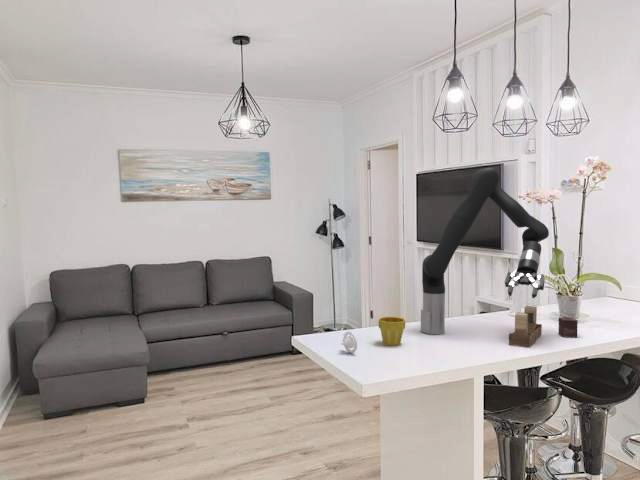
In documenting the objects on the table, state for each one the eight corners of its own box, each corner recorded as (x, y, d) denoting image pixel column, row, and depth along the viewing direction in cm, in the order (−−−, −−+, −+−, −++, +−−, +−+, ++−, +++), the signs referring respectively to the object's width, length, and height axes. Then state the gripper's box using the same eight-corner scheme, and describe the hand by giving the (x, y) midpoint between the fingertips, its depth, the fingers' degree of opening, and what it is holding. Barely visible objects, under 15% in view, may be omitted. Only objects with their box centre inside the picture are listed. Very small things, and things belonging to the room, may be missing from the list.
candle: (525, 314, 257) (526, 265, 255) (522, 317, 251) (523, 266, 249) (510, 313, 261) (511, 264, 259) (507, 315, 255) (508, 265, 253)
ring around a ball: (360, 354, 186) (360, 332, 185) (348, 357, 183) (348, 334, 182) (347, 349, 192) (347, 328, 192) (335, 352, 189) (335, 330, 189)
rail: (529, 347, 195) (530, 316, 194) (508, 344, 199) (509, 314, 198) (541, 335, 215) (542, 306, 214) (522, 332, 219) (523, 304, 218)
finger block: (525, 343, 198) (525, 315, 197) (514, 341, 200) (515, 313, 199) (527, 340, 201) (528, 313, 201) (517, 339, 204) (517, 312, 203)
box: (577, 338, 210) (578, 320, 210) (561, 337, 211) (562, 319, 211) (573, 334, 216) (573, 317, 216) (558, 333, 217) (558, 316, 217)
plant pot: (402, 348, 194) (402, 322, 194) (375, 345, 198) (375, 320, 197) (407, 341, 204) (407, 317, 203) (381, 339, 208) (382, 315, 207)
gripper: (509, 256, 209) (501, 288, 200) (546, 258, 201) (540, 291, 192) (511, 268, 213) (504, 299, 205) (548, 271, 206) (542, 303, 197)
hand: (521, 295), depth 198 cm, fingers open, 8 cm apart
